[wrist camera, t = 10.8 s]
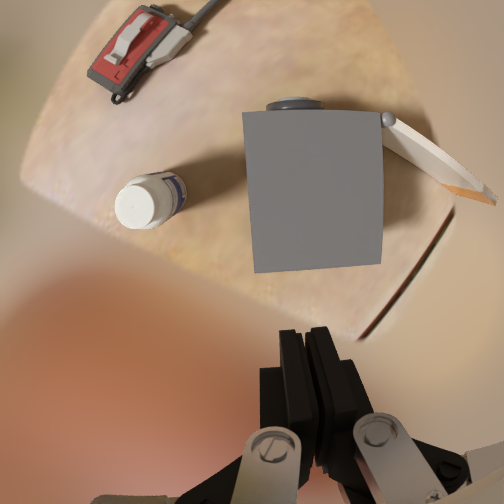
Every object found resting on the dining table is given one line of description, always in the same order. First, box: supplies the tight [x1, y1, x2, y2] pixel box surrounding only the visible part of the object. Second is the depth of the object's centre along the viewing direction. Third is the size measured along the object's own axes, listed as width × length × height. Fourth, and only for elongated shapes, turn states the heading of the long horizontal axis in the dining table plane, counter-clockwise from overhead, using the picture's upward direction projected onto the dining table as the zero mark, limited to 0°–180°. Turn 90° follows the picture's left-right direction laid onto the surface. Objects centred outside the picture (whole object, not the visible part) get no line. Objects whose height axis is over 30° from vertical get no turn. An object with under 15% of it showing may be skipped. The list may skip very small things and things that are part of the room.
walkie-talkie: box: [87, 0, 221, 105], centre depth 25 cm, size 9×4×20 cm
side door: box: [380, 112, 498, 206], centre depth 27 cm, size 18×1×9 cm, turn 68°
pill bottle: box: [115, 172, 187, 229], centre depth 28 cm, size 5×5×10 cm
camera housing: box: [242, 97, 384, 273], centre depth 28 cm, size 16×12×9 cm
